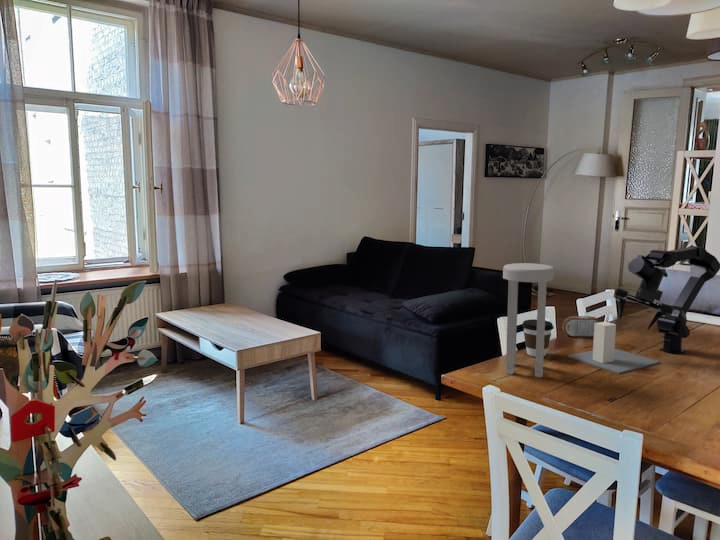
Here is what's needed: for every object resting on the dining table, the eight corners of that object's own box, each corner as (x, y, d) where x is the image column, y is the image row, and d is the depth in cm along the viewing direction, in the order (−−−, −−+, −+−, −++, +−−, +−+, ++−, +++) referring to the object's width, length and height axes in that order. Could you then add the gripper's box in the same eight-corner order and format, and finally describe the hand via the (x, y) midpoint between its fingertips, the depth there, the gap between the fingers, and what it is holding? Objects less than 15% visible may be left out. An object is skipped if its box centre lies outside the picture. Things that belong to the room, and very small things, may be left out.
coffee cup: (553, 352, 194) (555, 320, 192) (550, 361, 184) (552, 327, 182) (523, 348, 198) (524, 317, 197) (518, 357, 189) (519, 324, 187)
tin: (599, 336, 215) (600, 315, 214) (602, 338, 212) (603, 317, 211) (561, 335, 216) (562, 315, 215) (563, 337, 213) (564, 317, 212)
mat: (608, 348, 198) (608, 346, 198) (659, 362, 180) (660, 361, 180) (567, 357, 187) (567, 355, 187) (618, 374, 170) (618, 372, 170)
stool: (498, 375, 170) (501, 268, 165) (503, 360, 185) (505, 262, 180) (549, 380, 165) (553, 270, 160) (549, 365, 179) (554, 263, 174)
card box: (603, 357, 185) (605, 321, 183) (613, 361, 181) (616, 324, 179) (592, 359, 183) (594, 323, 181) (602, 363, 179) (604, 326, 177)
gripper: (623, 269, 181) (606, 311, 180) (683, 289, 173) (665, 332, 172) (621, 276, 191) (605, 315, 190) (678, 294, 183) (661, 336, 182)
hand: (633, 324), depth 183 cm, fingers open, 9 cm apart
